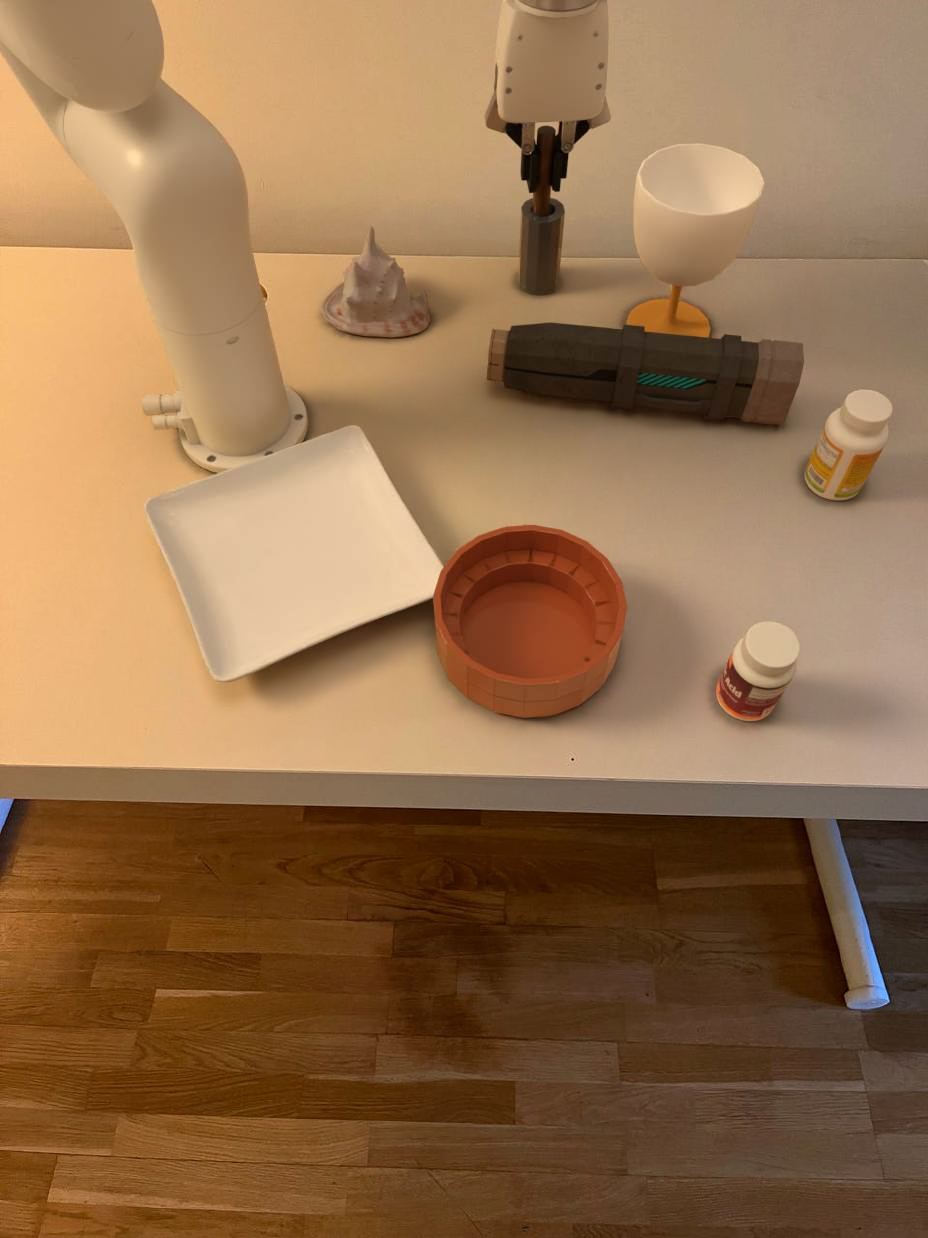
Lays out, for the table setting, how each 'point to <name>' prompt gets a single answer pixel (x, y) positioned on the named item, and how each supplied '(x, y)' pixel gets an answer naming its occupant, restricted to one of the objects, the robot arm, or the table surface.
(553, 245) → the holder
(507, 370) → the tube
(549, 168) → the stick
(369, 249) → the seashell
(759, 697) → the pill bottle
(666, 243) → the cup
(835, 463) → the supplement bottle
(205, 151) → the robot arm
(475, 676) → the bowl
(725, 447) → the table surface
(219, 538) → the salad plate
